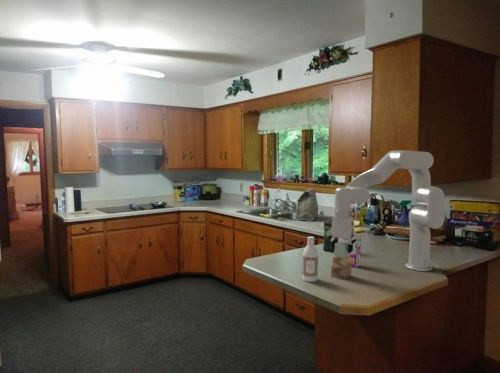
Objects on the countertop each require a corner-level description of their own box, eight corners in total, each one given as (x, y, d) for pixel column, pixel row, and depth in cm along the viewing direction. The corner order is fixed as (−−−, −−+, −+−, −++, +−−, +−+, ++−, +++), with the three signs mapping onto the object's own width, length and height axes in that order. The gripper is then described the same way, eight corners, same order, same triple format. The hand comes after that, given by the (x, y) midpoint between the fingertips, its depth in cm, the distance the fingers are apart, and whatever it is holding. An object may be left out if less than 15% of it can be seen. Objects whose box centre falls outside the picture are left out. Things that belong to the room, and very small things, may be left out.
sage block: (348, 255, 175) (349, 243, 175) (344, 258, 171) (344, 245, 171) (339, 253, 178) (339, 241, 178) (334, 256, 174) (334, 243, 174)
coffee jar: (340, 249, 224) (341, 219, 222) (337, 253, 217) (338, 221, 215) (324, 248, 228) (325, 218, 226) (321, 251, 221) (322, 220, 219)
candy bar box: (360, 265, 192) (361, 234, 190) (355, 267, 188) (356, 236, 187) (341, 261, 200) (342, 231, 198) (336, 263, 196) (337, 232, 195)
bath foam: (302, 281, 167) (302, 238, 166) (302, 276, 174) (303, 235, 172) (317, 282, 166) (318, 239, 164) (317, 277, 173) (318, 235, 171)
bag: (301, 216, 342) (302, 187, 340) (319, 217, 336) (319, 188, 334) (295, 220, 321) (295, 189, 319) (313, 222, 315) (314, 190, 313)
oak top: (349, 266, 175) (350, 255, 175) (344, 269, 171) (345, 258, 170) (337, 263, 179) (338, 253, 179) (332, 266, 174) (332, 256, 174)
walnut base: (351, 276, 176) (351, 265, 176) (345, 279, 171) (345, 269, 170) (337, 273, 180) (337, 263, 180) (331, 276, 175) (331, 266, 174)
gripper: (364, 215, 170) (362, 252, 172) (329, 211, 181) (328, 246, 183) (357, 217, 165) (356, 255, 166) (322, 213, 175) (321, 249, 177)
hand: (341, 250), depth 174 cm, fingers open, 7 cm apart
